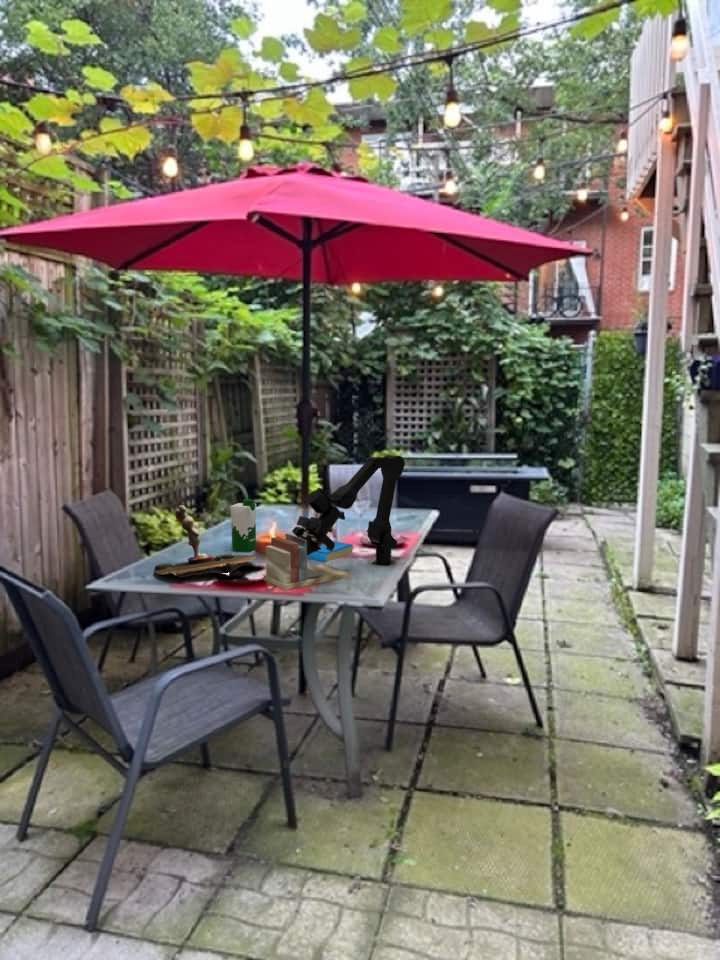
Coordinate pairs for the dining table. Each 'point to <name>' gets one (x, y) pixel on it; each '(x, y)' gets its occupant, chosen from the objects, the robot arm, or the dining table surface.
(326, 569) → the book shelf
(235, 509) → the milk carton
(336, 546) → the book
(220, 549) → the dining table surface
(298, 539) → the bookend
